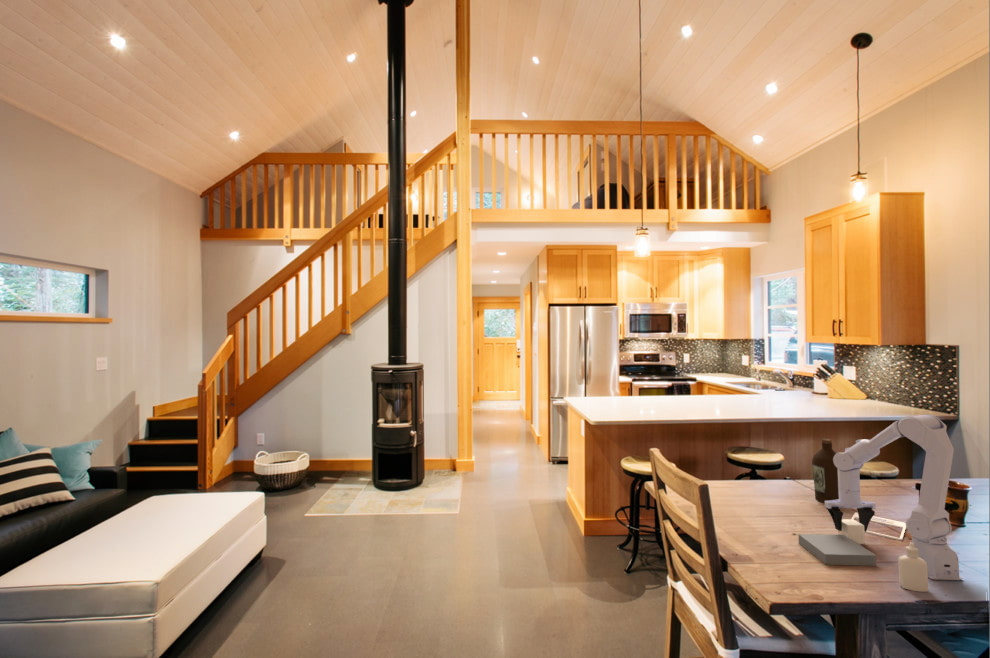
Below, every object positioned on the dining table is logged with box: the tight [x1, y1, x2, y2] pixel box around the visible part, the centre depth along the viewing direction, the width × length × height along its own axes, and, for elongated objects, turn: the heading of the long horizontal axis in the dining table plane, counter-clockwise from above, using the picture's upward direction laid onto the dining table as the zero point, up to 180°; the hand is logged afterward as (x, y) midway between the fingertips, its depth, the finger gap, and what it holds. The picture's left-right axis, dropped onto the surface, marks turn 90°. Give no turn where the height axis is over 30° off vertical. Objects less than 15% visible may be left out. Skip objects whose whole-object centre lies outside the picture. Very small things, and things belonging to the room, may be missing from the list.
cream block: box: [837, 518, 866, 545], centre depth 149 cm, size 5×5×6 cm
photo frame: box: [850, 512, 907, 542], centre depth 159 cm, size 15×1×18 cm
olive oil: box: [811, 438, 839, 504], centre depth 184 cm, size 11×11×25 cm
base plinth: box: [798, 533, 877, 567], centre depth 140 cm, size 14×14×3 cm
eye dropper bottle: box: [897, 542, 929, 593], centre depth 120 cm, size 4×6×12 cm
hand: (850, 530), depth 149 cm, fingers open, 7 cm apart
